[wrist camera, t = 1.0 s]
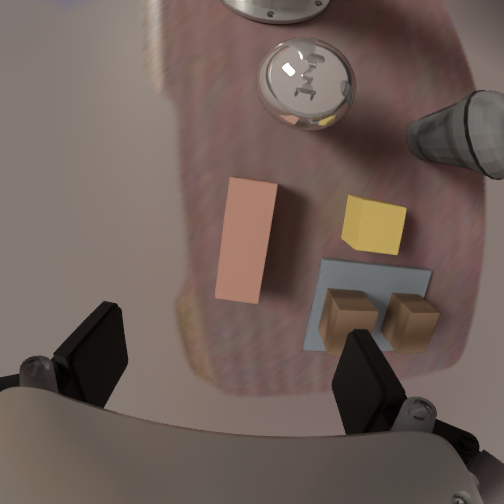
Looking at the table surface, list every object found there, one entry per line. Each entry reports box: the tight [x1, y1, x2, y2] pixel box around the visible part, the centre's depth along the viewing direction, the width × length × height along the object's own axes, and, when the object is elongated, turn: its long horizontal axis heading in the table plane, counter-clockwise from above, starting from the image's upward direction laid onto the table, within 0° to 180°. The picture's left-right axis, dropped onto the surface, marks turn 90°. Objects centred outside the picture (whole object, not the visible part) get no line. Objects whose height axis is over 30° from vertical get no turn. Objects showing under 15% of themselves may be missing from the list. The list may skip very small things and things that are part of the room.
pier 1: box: [318, 288, 379, 355], centre depth 27 cm, size 5×4×5 cm
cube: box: [341, 195, 407, 255], centre depth 26 cm, size 4×4×4 cm
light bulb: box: [255, 37, 357, 131], centre depth 19 cm, size 7×7×12 cm
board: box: [303, 258, 432, 351], centre depth 30 cm, size 11×14×1 cm
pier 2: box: [380, 293, 440, 354], centre depth 27 cm, size 5×4×5 cm
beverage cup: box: [406, 90, 504, 180], centre depth 15 cm, size 7×7×20 cm
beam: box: [215, 177, 278, 304], centre depth 27 cm, size 11×4×4 cm, turn 172°
